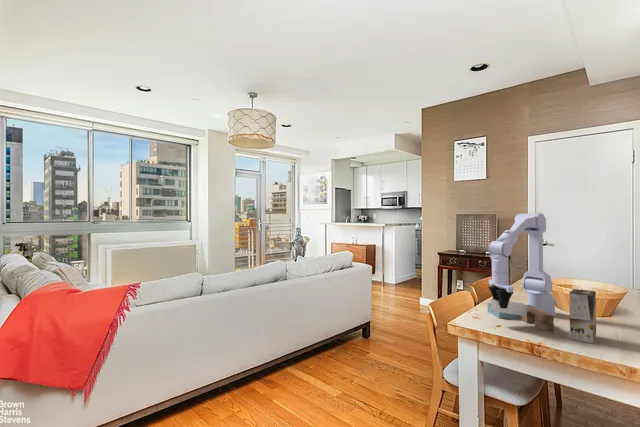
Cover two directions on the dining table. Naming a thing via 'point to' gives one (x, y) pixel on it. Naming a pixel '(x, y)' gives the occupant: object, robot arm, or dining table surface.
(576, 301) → the coffee box
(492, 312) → the v block
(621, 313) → the dining table surface
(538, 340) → the dining table surface
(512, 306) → the grey rectangular bar
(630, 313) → the dining table surface
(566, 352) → the dining table surface
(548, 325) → the brown bridge block
